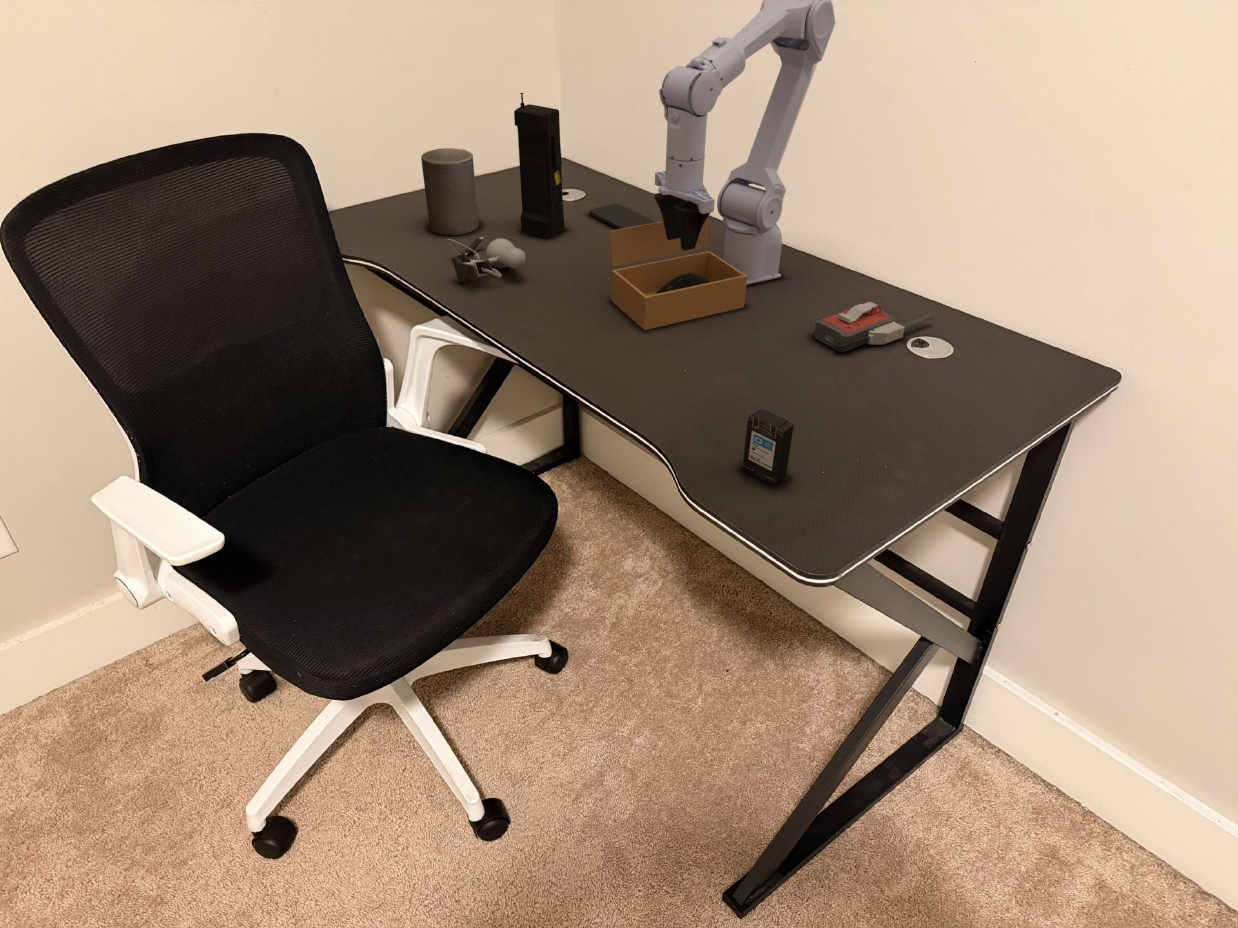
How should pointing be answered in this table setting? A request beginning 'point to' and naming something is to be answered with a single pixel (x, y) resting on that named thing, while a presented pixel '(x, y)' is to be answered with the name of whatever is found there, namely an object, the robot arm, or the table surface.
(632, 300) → the carton
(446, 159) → the pillar candle
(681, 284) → the gaming mouse
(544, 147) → the portable radio
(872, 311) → the walkie-talkie
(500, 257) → the clip-on lamp
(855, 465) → the table surface
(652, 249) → the flap
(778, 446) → the ink cartridge
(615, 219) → the phone
